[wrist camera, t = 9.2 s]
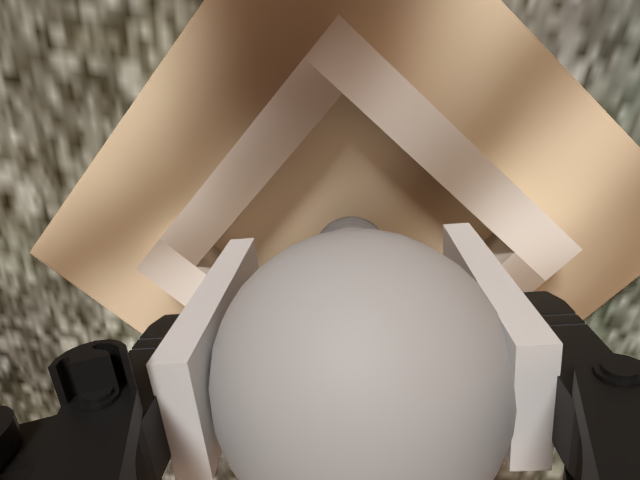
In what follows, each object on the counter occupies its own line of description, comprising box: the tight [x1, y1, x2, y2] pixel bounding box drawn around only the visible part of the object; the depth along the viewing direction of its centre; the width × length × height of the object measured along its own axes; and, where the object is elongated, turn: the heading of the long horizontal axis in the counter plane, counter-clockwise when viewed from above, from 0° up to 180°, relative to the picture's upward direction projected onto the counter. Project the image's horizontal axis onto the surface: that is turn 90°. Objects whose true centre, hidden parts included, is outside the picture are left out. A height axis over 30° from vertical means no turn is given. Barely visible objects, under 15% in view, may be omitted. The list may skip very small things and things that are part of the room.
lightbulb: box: [208, 217, 517, 480], centre depth 12 cm, size 6×6×11 cm
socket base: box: [29, 0, 640, 334], centre depth 17 cm, size 18×18×3 cm
